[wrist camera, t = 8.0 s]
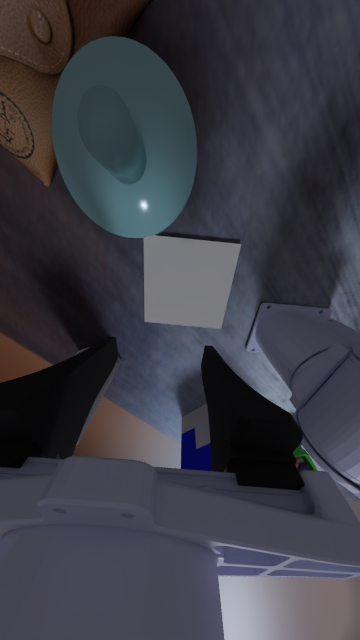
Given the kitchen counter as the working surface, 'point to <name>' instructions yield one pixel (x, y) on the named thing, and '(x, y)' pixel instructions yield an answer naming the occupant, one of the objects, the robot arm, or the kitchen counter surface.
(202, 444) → the puzzle toy
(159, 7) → the kitchen counter surface
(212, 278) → the plate
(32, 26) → the sunglasses case
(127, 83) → the lid
